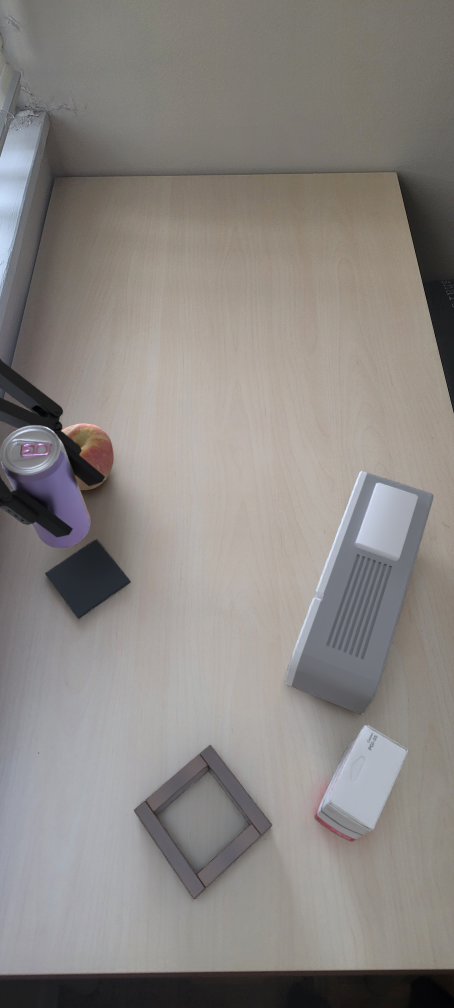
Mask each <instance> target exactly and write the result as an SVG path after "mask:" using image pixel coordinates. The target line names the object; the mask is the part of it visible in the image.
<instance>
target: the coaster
mask: <svg viewBox="0 0 454 1008" xmlns="http://www.w3.org/2000/svg"><path fill="white" fill-rule="evenodd" d="M44 574H45V575H46V577H47V578H48V580H49V581H50V582H51V584H52V585H53V586H54V588H55V589H56V590H57V592H58V594H60V596H61V597H62V599H63V600H64V601H65V603H66V604H67V605H68V607H69V608H70V609H71V611H72V613H74V615H75V617H77V619H78V620H80V619H81V618H83V617H84V616H85V615H86V614H89V613H90V612H91V611H92V610H94V609H95V608H97V607H98V606H100V605H101V604H102V603H104V602H105V601H106V600H108V599H110V598H111V597H112V596H113V595H115V594H116V593H118V592H119V591H121V590H122V589H123V588H125V587H126V586H128V585H129V584H130V583H131V580H130V578H129V577H128V576H127V575H126V573H125V572H124V571H123V570H122V568H121V567H120V566H119V565H118V564H117V562H116V561H115V560H114V559H113V557H112V556H111V555H110V554H109V553H108V551H107V550H106V549H105V547H104V546H103V545H102V544H101V542H100V541H99V540H98V539H97V538H95V539H93V540H92V541H90V542H89V543H87V545H84V546H83V547H81V548H80V549H78V550H77V551H76V552H74V553H72V554H71V555H70V556H68V557H67V558H65V559H64V560H62V561H61V562H59V563H58V564H55V565H54V566H53V567H52V568H50V569H48V570H47V571H46V572H44Z"/></svg>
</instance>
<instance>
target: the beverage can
mask: <svg viewBox="0 0 454 1008" xmlns="http://www.w3.org/2000/svg"><path fill="white" fill-rule="evenodd" d="M0 466H1V468H2V471H3V473H4V474H5V476H6V478H7V480H8V481H9V483H10V485H11V487H12V489H13V491H15V490H18V489H21V490H22V491H24V492H25V493H27V494H28V495H29V496H31V497H32V498H33V499H35V500H36V501H37V502H39V503H40V504H41V505H42V506H44V507H45V508H46V509H48V510H49V511H50V512H52V513H53V514H54V515H56V516H57V517H58V518H60V519H61V520H62V521H64V522H65V523H66V524H67V525H69V526H70V527H71V528H73V530H72V531H71V533H70V534H69V535H67V536H62V537H55V536H54V535H53V534H51V533H50V532H49V531H47V530H46V529H45V528H43V527H42V526H40V525H39V524H38V523H36V522H35V523H33V524H31V525H32V527H33V528H34V530H35V533H36V534H37V536H38V538H39V539H40V541H41V542H42V543H43V544H45V545H47V546H48V547H51V548H55V549H66V548H70V547H73V546H75V545H77V544H79V543H80V542H82V540H84V538H85V537H86V536H87V534H88V533H89V530H90V528H91V522H92V521H91V516H90V513H89V509H88V508H87V505H86V502H85V500H84V497H83V494H82V492H81V491H82V490H80V489H79V486H78V483H77V480H76V478H75V475H74V472H73V470H72V467H71V464H70V462H69V459H68V456H67V453H66V451H65V448H64V445H63V443H62V442H61V440H60V439H59V438H58V436H57V435H56V434H55V433H54V432H53V431H52V430H51V429H49V428H46V427H44V426H38V425H30V426H25V427H22V428H19V429H18V428H16V429H15V430H13V431H12V432H10V433H9V434H8V435H7V436H6V437H5V438H4V439H3V441H2V443H1V444H0Z"/></svg>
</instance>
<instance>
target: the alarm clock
mask: <svg viewBox="0 0 454 1008" xmlns="http://www.w3.org/2000/svg"><path fill="white" fill-rule="evenodd" d="M433 501H434V494H433V493H431V492H429V491H427V490H423V489H419V488H416V487H413V486H410V485H407V484H404V483H400V482H398V481H395V480H392V479H389V478H386V477H382V476H381V475H376V474H373V473H370V472H367V471H363V470H361V471H359V473H358V475H357V478H356V481H355V483H354V486H353V489H352V491H351V494H350V496H349V499H348V501H347V505H346V507H345V510H344V513H343V516H342V518H341V521H340V524H339V526H338V529H337V533H336V535H335V538H334V540H333V543H332V546H331V548H330V551H329V553H328V556H327V559H326V562H325V565H324V567H323V570H322V572H321V575H320V578H319V581H318V583H317V586H316V589H315V591H314V594H313V598H312V599H311V602H310V605H309V608H308V610H307V613H306V616H305V619H304V621H303V624H302V627H301V629H300V632H299V635H298V637H297V640H296V642H295V646H294V648H293V651H292V654H291V657H290V660H289V663H288V667H287V669H286V670H287V671H286V674H285V679H284V683H285V685H287V686H289V687H291V688H294V689H296V690H299V691H301V692H304V693H307V694H309V695H312V696H314V697H316V698H319V699H321V700H323V701H326V702H328V703H331V704H334V705H336V706H339V707H340V708H343V709H346V710H349V711H351V712H353V713H356V714H359V715H362V714H364V713H365V712H366V711H367V709H368V708H369V706H370V705H371V704H372V702H373V701H374V698H375V697H376V694H377V692H378V689H379V686H380V684H381V680H382V677H383V675H384V670H385V667H386V663H387V660H388V657H389V653H390V651H391V646H392V644H393V640H394V637H395V636H394V635H395V633H396V629H397V625H398V623H399V620H400V619H399V618H400V615H401V612H402V609H403V604H404V602H405V599H406V594H407V591H408V587H409V584H410V581H411V577H412V574H413V570H414V567H415V563H416V559H417V557H418V553H419V550H420V546H421V543H422V541H423V540H422V539H423V536H424V532H425V529H426V527H427V522H428V518H429V515H430V511H431V509H432V506H433V505H432V504H433Z"/></svg>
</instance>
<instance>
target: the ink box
mask: <svg viewBox="0 0 454 1008" xmlns="http://www.w3.org/2000/svg"><path fill="white" fill-rule="evenodd" d="M408 753H409V749H408V748H406V747H405V746H403V745H401V744H400V743H399V742H397V741H396V740H394V739H393V738H390V737H389V736H387V735H385V734H384V733H382V732H381V731H379V730H377V729H376V728H374V727H372V726H370V725H369V724H365V725H364V726H363V727H362V729H361V730H360V731H359V733H357V735H356V736H355V738H353V740H352V741H351V742H350V743H349V745H348V746H347V747H346V748H345V751H344V752H343V755H342V756H341V759H340V761H339V763H338V765H337V767H336V770H335V771H334V773H333V776H332V778H331V780H330V782H329V784H328V786H327V788H326V790H325V792H324V794H323V796H322V799H321V801H320V803H319V806H318V807H317V809H316V812H315V814H314V819H315V821H317V822H318V823H319V824H320V825H322V826H324V827H325V828H327V829H328V830H329V831H331V832H332V833H334V834H335V835H337V836H339V837H341V838H343V839H345V840H347V841H350V842H354V841H356V840H358V839H359V838H360V839H361V838H362V837H363V836H365V835H367V834H368V833H370V832H372V831H374V830H375V828H376V826H377V824H378V821H379V819H380V817H381V815H382V813H383V810H384V808H385V805H386V803H387V801H388V799H389V796H390V794H391V792H392V789H393V787H394V785H395V783H396V781H397V779H398V776H399V774H400V771H401V769H402V767H403V764H404V762H405V759H406V758H407V755H408Z"/></svg>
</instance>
